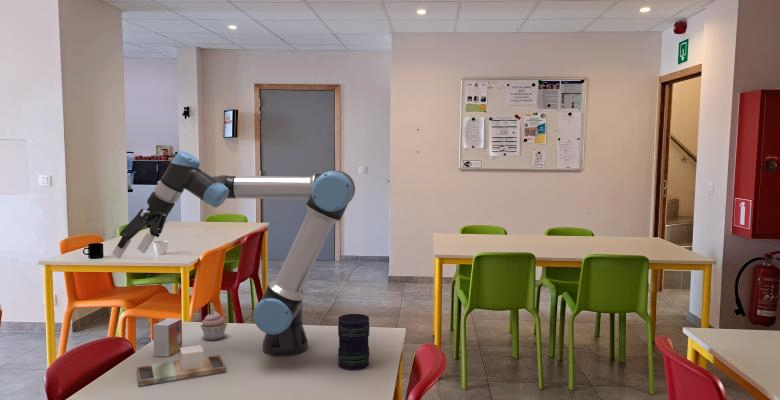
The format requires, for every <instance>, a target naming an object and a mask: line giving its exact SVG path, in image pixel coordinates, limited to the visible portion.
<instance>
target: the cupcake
mask: <svg viewBox="0 0 780 400" xmlns="http://www.w3.org/2000/svg"><path fill="white" fill-rule="evenodd" d="M199 326H200V328H201V330H202V332H203V336H204V339H205V340H207V341H218V340H221V339H223V338H224V335H225V331H226V328H227V326H228V324H227V322H225V317H223V316H221V313H219V312H218V311H215V310H212V311H211V313H210V314H207V315H206V316H205V317H204V319H203V320H202V321H201V325H199Z"/></svg>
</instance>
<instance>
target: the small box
mask: <svg viewBox="0 0 780 400" xmlns="http://www.w3.org/2000/svg"><path fill="white" fill-rule="evenodd" d="M152 330H153V356H154V357H166V358H167V357H168V358H170V357H171V356H173V355H174V354H177V353H178V352H180V348H183V321H182V318H172V317H171V318H170V317H169V318H168V317H167V318H165V319H164V320H160V321H159V322H157V323H154V324H153V329H152Z"/></svg>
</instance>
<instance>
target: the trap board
mask: <svg viewBox="0 0 780 400" xmlns="http://www.w3.org/2000/svg"><path fill="white" fill-rule="evenodd" d="M225 373H226V374H227V365H226V364H225V363H224V361H223V359H222V357H221V355H220V354H217V355H216V354H213V355H207V356H204V367H203V368H196V369H190V370H184V371H183V370H182V367H181V361H180V360H175V361H169V362H161V363H155V364H149V365H143V366H136V374H137V381H138V388H140V387H147V386H154V385H160V384H165V383H170V382H177V381H178V382H179V381H182V380H189V379H195V378H202V377H209V376H213V375H214V376H215V375H219V374H220V375H221V374H225Z"/></svg>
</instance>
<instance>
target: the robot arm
mask: <svg viewBox="0 0 780 400" xmlns="http://www.w3.org/2000/svg"><path fill="white" fill-rule="evenodd" d="M200 166H201V160H200V159H198V157H196V156H194V155H193V154H191V153H189V152H187V151H181V150H180V151H179V152H177V153H176V154H175V156H174V157H173V158H172V160H171V161H170V163H169V165H168V167H167V168H166V170H165V172H164V173H163V175H162V176H161V178H160V179H159V180H158V181H157V184H156V186H155V188H154V189H153V191H152V192H151V194H150V195H149V197H147V198H148V199H147V200H146V203H147V205H148V207H147V209H144V208H140V210H139V211H138V212H137V214H136V215H135V216H134V217H133V219H131V221H130V222H129V223H127V224H126V226H125V227H124V228H123V229H122V230H121V231H120V232H119V235H120V236H121V238H120V240H119V242H118V243H117V245H116V246H115V248H114V249H113V250H112V253H111V254H112V256H114V257H116V258H117V259H119V260H120V259H121V258H122V256H123V255H124V253H125V252H126V250H127V249H128V247H129V245H130V244H131V242H132V240H131V239H132V238H134V237H135V236H136V235H137V234H138V233H139V232H141V230H143V229H144V228H145V227H148V226H149V230H148V232H146V233H145V235H144V237H143V238H142V240H141V242H140V243H139V244H138V247H137V248H136V249H137V250H138V251H139V252H140V253H142V254H145V253H146V251H147V250H148V249H149V247H150V246H151V244H152V242H153V241H154V239H155V238H159V237H160V236H161V234H162V233H163V230H164V227H165V223H166V220H167V217H168V215H169V214H170V213H171V211H172V209H173V208H174V206H175V203H177V202H178V200H179V199H180V197H181V196H182V194H183V192H184V191H185V190H187V191H188V192H189V193H191V194H192V195H193V196H196V198H198V199H200V200H202V201H203V202H204V203H205V204H207V205H209V206H211V207H213V208H219V207H220V206H222V204H224V202H225V201H226V200H227V199H250V200H251V199H252V200H253V199H258V200H259V199H260V200H262V199H264V200H266V199H267V200H269V199H270V200H274V199H275V200H307V202H306V205H305V207H306V209H307V213H306V216H305V218H304V220H303V221H302V224H301V226H300V228H299V230H298V232H297V234H296V236H295V239H294V240H293V242H292V245H291V248H290V249H289V251H288V254H287V256H286V258H285V259H284V262H283V264H282V267H281V268H280V270H279V271H278V272H279V273H278V275H277V277H276V279H275V280H272V281H270V282H268V284H267V286H266V288H265V290H264V292H263V295H262V296H261V299H260V301H258V302H257V304H256V305H255V308H254V310H253V314H252V315H253V320H254V323H255V326H256V327H257V328H258V329H259V330H260V331H261V332H263V333H265V334H264V337H263V341H262V351H263V353H265V354H268V355H271V356H278V357H279V356H280V357H281V356H283V357H285V356H286V357H287V356H293V355H297V354H300V353H303V352H305V351H306V350H308V347H309V340H308V337H307V335H306V331H305V328H304V326H303V325H304V324H303V320H304V319H303V316H304V315H303V311H304V310H303V299H304V296H303V292H304V285H305V284H306V282H307V280H308V277H309V275H310V274H311V271H312V270H313V267H314V265H315V263H316V261H317V259H318V256H320V255H319V254H320V252H321V251H322V248H323V245H324V243H326V239H327V238H328V236H329V233H330V231H331V230H332V227H333V225H334V224H335V223H338V222H341V220H342V217H343V215H344V213H345V212H346V209H347V207H348V205H349V203H350V202H351V201H352V200H353V198H354V196H355V192H356V186H355V185H356V184H355V182H354V180H353V178H352V177H351V176H350V175H349V174H348V173H346V172H344V171H340V170H329V171H326V172H322V173H314V174H313V175H311V176H299V175H298V176H289V175H288V176H285V175H282V176H280V175H279V176H278V175H273V176H271V175H225V174H222V175H217V176H216V175H215V176H211V175H209V174H207V173H206V172H205V171H204V170H202V169H201V168H200Z"/></svg>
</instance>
